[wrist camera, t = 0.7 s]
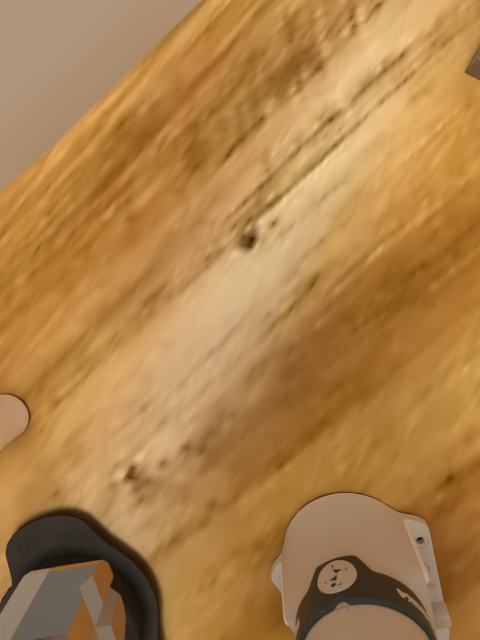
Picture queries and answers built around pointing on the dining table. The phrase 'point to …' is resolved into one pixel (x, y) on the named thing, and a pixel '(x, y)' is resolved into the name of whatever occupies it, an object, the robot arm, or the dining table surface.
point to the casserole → (79, 547)
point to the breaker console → (474, 65)
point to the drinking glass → (11, 418)
